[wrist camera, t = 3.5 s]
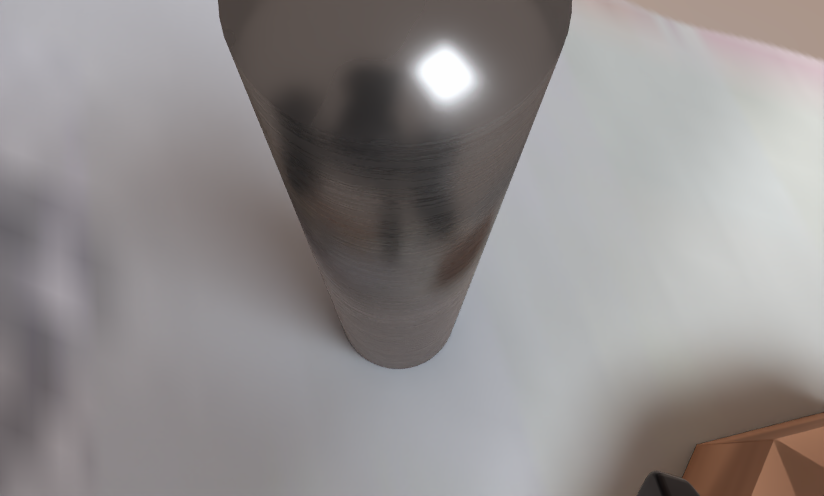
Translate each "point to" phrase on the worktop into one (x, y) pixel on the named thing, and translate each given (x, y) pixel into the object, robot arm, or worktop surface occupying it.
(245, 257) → the worktop surface
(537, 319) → the worktop surface
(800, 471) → the bead
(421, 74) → the brushed steel cylinder
